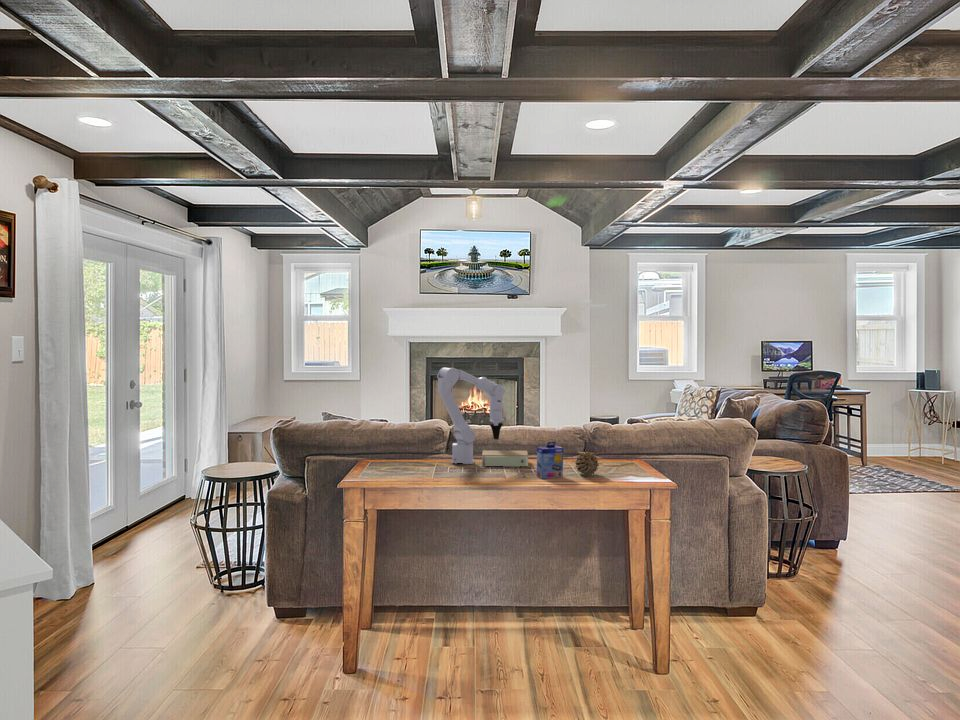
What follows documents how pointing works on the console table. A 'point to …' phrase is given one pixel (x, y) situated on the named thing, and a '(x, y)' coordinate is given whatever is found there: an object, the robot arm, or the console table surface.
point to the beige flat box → (505, 454)
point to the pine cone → (586, 463)
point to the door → (504, 461)
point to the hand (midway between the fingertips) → (496, 439)
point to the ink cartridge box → (549, 461)
